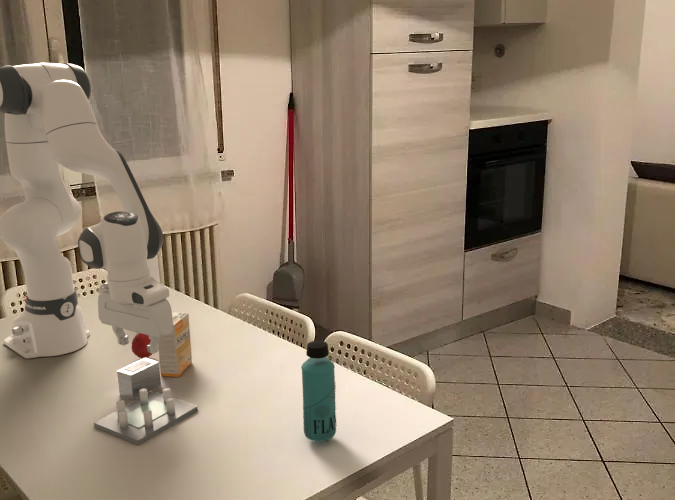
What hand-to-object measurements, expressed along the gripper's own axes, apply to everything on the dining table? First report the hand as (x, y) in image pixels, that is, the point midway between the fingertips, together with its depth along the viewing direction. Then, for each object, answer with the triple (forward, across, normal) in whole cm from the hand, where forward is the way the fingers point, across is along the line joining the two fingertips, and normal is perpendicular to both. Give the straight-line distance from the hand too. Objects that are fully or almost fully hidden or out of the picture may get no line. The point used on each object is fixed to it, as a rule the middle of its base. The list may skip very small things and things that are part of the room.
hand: (138, 348), depth 154 cm
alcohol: (+10, -37, +34) cm, 51 cm away
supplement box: (+11, -2, +12) cm, 16 cm away
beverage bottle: (+12, +45, +4) cm, 47 cm away
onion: (+10, -13, +12) cm, 20 cm away
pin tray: (+10, +10, -8) cm, 17 cm away
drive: (+10, -1, 0) cm, 10 cm away
